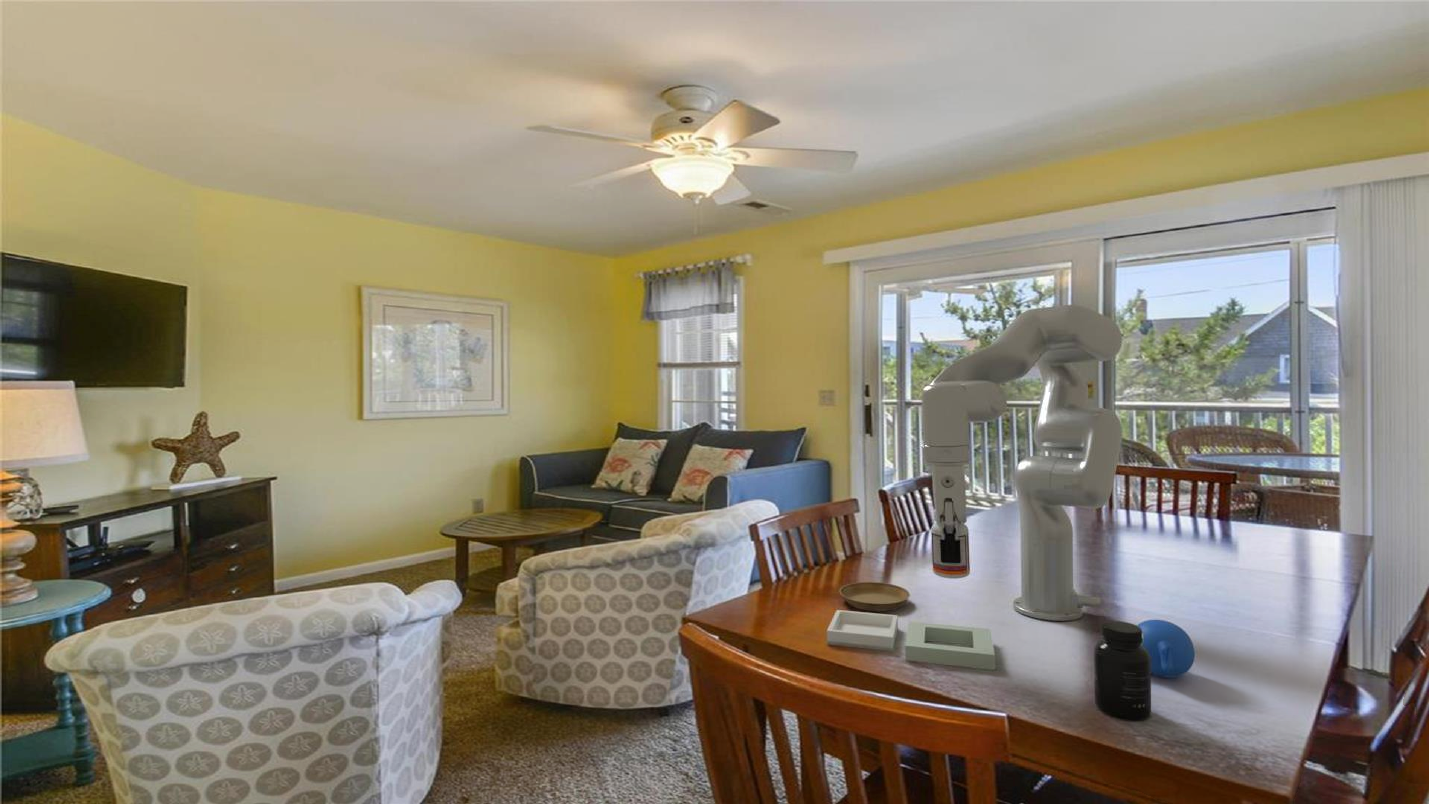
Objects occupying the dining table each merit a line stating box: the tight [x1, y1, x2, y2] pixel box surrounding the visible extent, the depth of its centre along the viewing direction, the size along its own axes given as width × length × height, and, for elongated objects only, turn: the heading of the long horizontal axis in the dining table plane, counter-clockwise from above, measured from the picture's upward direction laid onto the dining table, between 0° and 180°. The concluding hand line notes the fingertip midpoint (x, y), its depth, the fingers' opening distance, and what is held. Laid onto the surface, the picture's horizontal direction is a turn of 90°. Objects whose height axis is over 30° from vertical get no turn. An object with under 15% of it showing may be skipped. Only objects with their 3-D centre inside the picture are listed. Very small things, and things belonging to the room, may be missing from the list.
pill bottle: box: [930, 507, 971, 580], centre depth 114 cm, size 6×6×11 cm
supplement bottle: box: [1093, 620, 1152, 722], centre depth 92 cm, size 7×7×12 cm
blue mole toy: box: [1136, 619, 1196, 678], centre depth 104 cm, size 12×12×8 cm
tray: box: [826, 609, 899, 652], centre depth 122 cm, size 12×12×2 cm
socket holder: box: [904, 621, 996, 671], centre depth 114 cm, size 14×12×2 cm
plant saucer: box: [839, 581, 911, 612], centre depth 141 cm, size 15×15×3 cm
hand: (950, 556), depth 114 cm, fingers closed on pill bottle, 6 cm apart
